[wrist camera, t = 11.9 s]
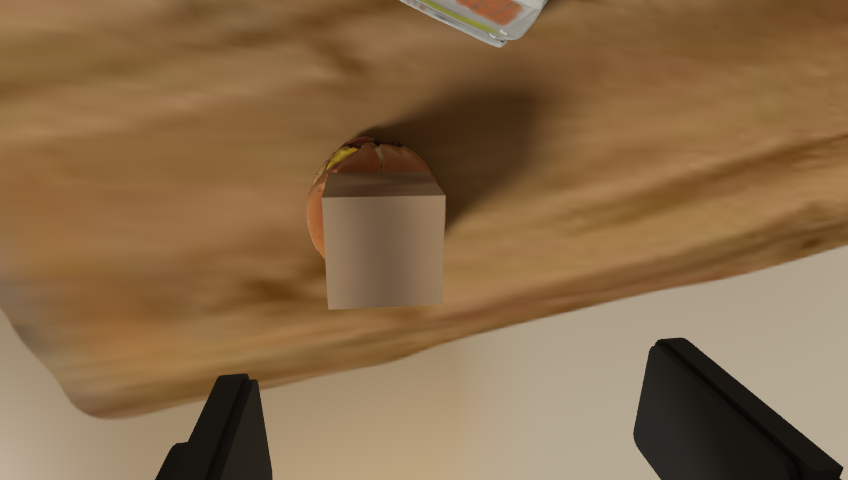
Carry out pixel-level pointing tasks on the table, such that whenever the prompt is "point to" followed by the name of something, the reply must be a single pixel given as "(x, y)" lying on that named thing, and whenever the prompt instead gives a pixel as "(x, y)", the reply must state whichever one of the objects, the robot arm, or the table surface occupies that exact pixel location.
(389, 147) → the burger
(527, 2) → the toy car
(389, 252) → the light brown cube
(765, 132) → the table surface
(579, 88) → the table surface
